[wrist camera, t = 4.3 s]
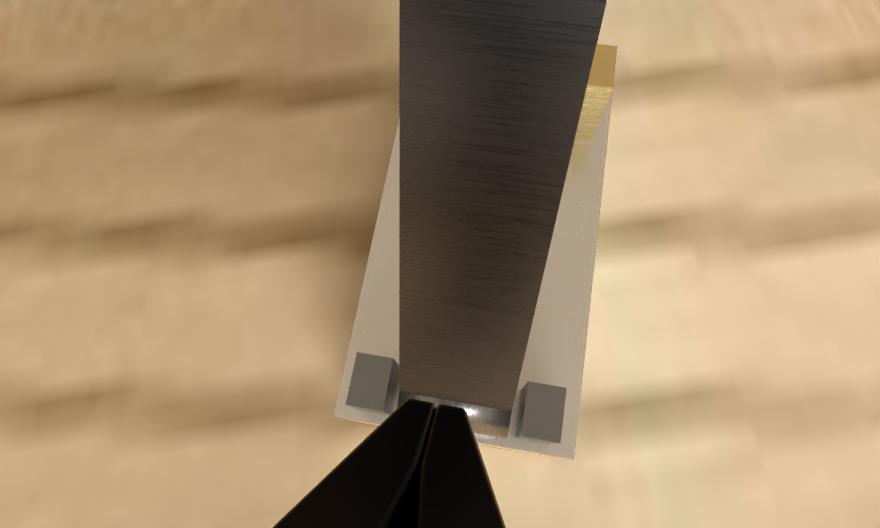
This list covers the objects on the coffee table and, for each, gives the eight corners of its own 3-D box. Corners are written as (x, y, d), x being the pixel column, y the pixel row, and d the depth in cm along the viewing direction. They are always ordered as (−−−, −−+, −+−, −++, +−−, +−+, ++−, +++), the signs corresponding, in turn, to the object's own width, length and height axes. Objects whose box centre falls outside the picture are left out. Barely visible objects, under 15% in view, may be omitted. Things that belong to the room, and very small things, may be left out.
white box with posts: (552, 457, 21) (595, 461, 14) (359, 422, 22) (306, 409, 15) (588, 144, 25) (637, 20, 18) (422, 122, 25) (404, -7, 18)
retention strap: (504, 449, 16) (607, 9, 8) (397, 430, 17) (395, -14, 9) (509, 401, 17) (604, -28, 9) (409, 383, 18) (417, -47, 10)
